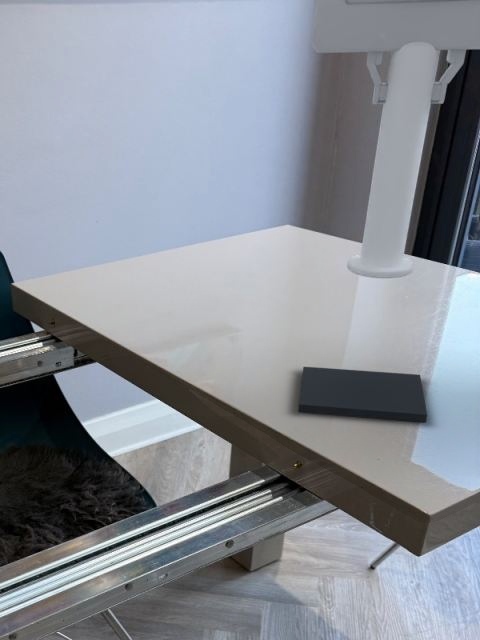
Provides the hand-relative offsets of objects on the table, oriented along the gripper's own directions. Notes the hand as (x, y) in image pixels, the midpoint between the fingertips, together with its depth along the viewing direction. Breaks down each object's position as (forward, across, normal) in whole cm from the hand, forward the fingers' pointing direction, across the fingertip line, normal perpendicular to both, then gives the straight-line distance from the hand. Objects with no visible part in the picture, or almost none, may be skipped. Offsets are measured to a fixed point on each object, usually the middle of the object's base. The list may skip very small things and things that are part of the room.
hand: (407, 103), depth 78 cm
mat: (+31, 0, -2) cm, 31 cm away
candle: (+17, 0, 0) cm, 17 cm away
